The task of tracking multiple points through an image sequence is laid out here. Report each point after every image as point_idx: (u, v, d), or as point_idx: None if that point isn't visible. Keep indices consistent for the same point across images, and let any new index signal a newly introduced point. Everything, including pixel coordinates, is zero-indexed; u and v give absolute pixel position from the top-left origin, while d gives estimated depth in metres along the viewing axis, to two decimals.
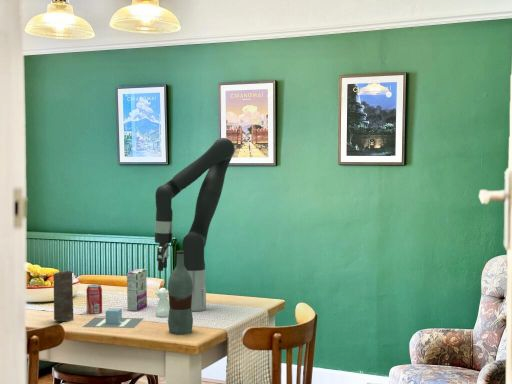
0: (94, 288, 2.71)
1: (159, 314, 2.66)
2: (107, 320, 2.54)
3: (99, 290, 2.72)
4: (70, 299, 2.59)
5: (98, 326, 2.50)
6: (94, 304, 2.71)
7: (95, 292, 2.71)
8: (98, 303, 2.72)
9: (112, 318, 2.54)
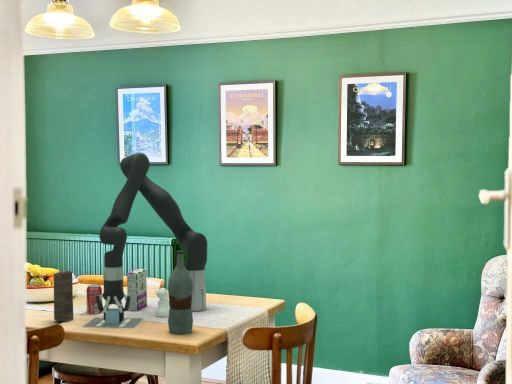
0: (94, 288, 2.71)
1: (159, 314, 2.66)
2: (107, 320, 2.54)
3: (99, 290, 2.72)
4: (70, 299, 2.59)
5: (98, 326, 2.50)
6: (94, 304, 2.71)
7: (95, 292, 2.71)
8: None
9: (112, 318, 2.54)
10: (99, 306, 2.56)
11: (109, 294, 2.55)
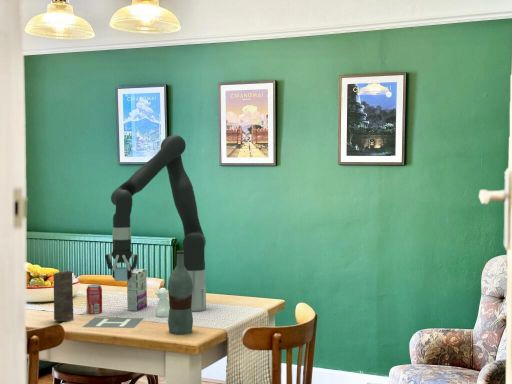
0: (94, 288, 2.71)
1: (159, 314, 2.66)
2: (116, 277, 2.70)
3: (99, 290, 2.72)
4: (70, 299, 2.59)
5: (98, 326, 2.50)
6: (94, 304, 2.71)
7: (95, 292, 2.71)
8: (98, 303, 2.72)
9: (121, 275, 2.70)
10: (108, 264, 2.71)
11: (118, 253, 2.71)
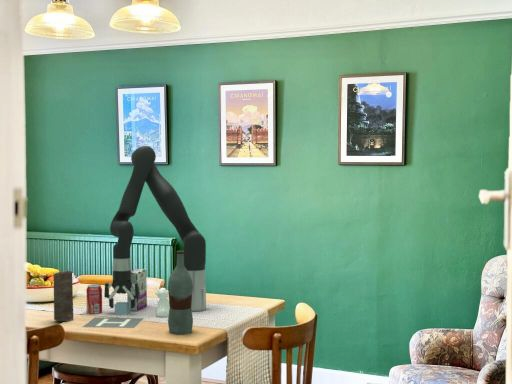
0: (94, 288, 2.71)
1: (159, 314, 2.66)
2: (116, 313, 2.70)
3: (99, 290, 2.72)
4: (70, 299, 2.59)
5: (98, 326, 2.50)
6: (94, 304, 2.71)
7: (95, 292, 2.71)
8: (98, 303, 2.72)
9: (121, 311, 2.70)
10: (106, 293, 2.72)
11: (118, 284, 2.71)
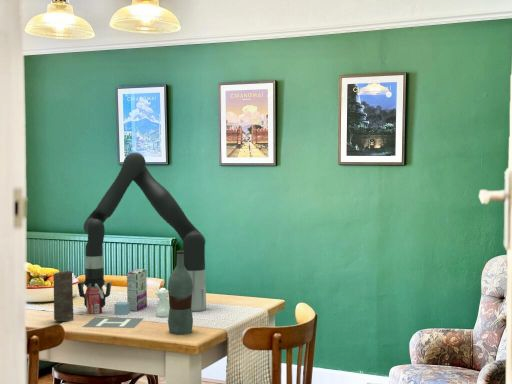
0: (94, 288, 2.71)
1: (159, 314, 2.66)
2: (116, 313, 2.70)
3: None
4: (70, 299, 2.59)
5: (98, 326, 2.50)
6: (94, 304, 2.71)
7: (95, 292, 2.71)
8: (98, 303, 2.72)
9: (121, 311, 2.70)
10: (80, 292, 2.73)
11: (90, 281, 2.73)
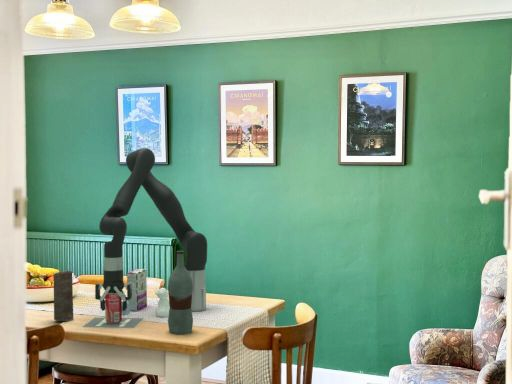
0: (114, 295, 2.54)
1: (159, 314, 2.66)
2: None
3: (119, 297, 2.55)
4: (70, 299, 2.59)
5: (98, 326, 2.50)
6: (114, 312, 2.53)
7: (115, 299, 2.53)
8: (118, 311, 2.54)
9: None
10: (96, 295, 2.55)
11: (109, 284, 2.55)
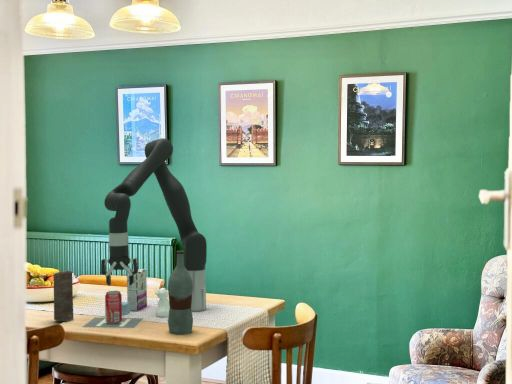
0: (114, 295, 2.54)
1: (159, 314, 2.66)
2: None
3: (119, 297, 2.55)
4: (70, 299, 2.59)
5: (98, 326, 2.50)
6: (114, 312, 2.53)
7: (115, 299, 2.54)
8: (118, 311, 2.54)
9: None
10: (102, 270, 2.58)
11: (115, 260, 2.58)
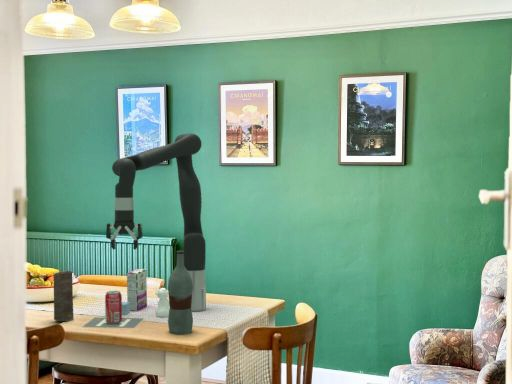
0: (114, 295, 2.54)
1: (159, 314, 2.66)
2: None
3: (119, 297, 2.55)
4: (70, 299, 2.59)
5: (98, 326, 2.50)
6: (114, 312, 2.53)
7: (115, 299, 2.54)
8: (118, 311, 2.54)
9: None
10: (107, 234, 2.64)
11: (120, 224, 2.63)
